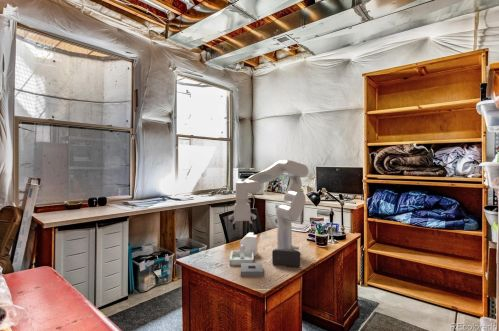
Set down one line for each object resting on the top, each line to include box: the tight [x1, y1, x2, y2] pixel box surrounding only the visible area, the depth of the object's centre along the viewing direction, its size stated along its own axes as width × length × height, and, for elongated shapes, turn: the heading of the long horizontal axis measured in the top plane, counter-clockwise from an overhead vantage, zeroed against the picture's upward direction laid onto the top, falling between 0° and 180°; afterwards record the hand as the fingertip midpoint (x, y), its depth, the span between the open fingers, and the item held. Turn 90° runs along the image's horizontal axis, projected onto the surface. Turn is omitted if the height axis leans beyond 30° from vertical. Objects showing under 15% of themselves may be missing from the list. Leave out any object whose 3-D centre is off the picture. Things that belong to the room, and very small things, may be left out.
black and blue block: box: [271, 248, 301, 268], centre depth 164 cm, size 16×5×9 cm, turn 78°
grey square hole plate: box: [240, 262, 264, 277], centre depth 154 cm, size 12×12×3 cm
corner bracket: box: [239, 232, 258, 256], centre depth 187 cm, size 11×11×12 cm
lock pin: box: [239, 244, 245, 259], centre depth 171 cm, size 3×3×9 cm
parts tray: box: [229, 250, 255, 266], centre depth 171 cm, size 14×16×4 cm
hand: (242, 229), depth 170 cm, fingers open, 9 cm apart
